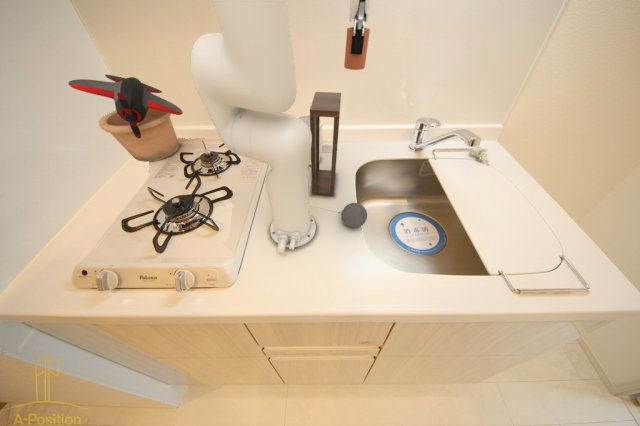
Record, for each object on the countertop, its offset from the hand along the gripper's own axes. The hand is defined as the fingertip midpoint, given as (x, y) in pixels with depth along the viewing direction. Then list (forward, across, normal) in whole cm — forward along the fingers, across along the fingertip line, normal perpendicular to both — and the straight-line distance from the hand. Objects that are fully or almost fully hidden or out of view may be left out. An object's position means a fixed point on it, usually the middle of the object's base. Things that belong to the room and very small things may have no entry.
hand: (356, 50), depth 63 cm
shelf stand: (+34, +20, -7) cm, 40 cm away
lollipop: (+28, +37, -4) cm, 47 cm away
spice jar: (+4, 0, 0) cm, 4 cm away
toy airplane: (+7, +9, -67) cm, 68 cm away
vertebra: (+32, 0, +51) cm, 60 cm away
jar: (+34, +6, -14) cm, 37 cm away
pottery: (+34, +7, -76) cm, 83 cm away
